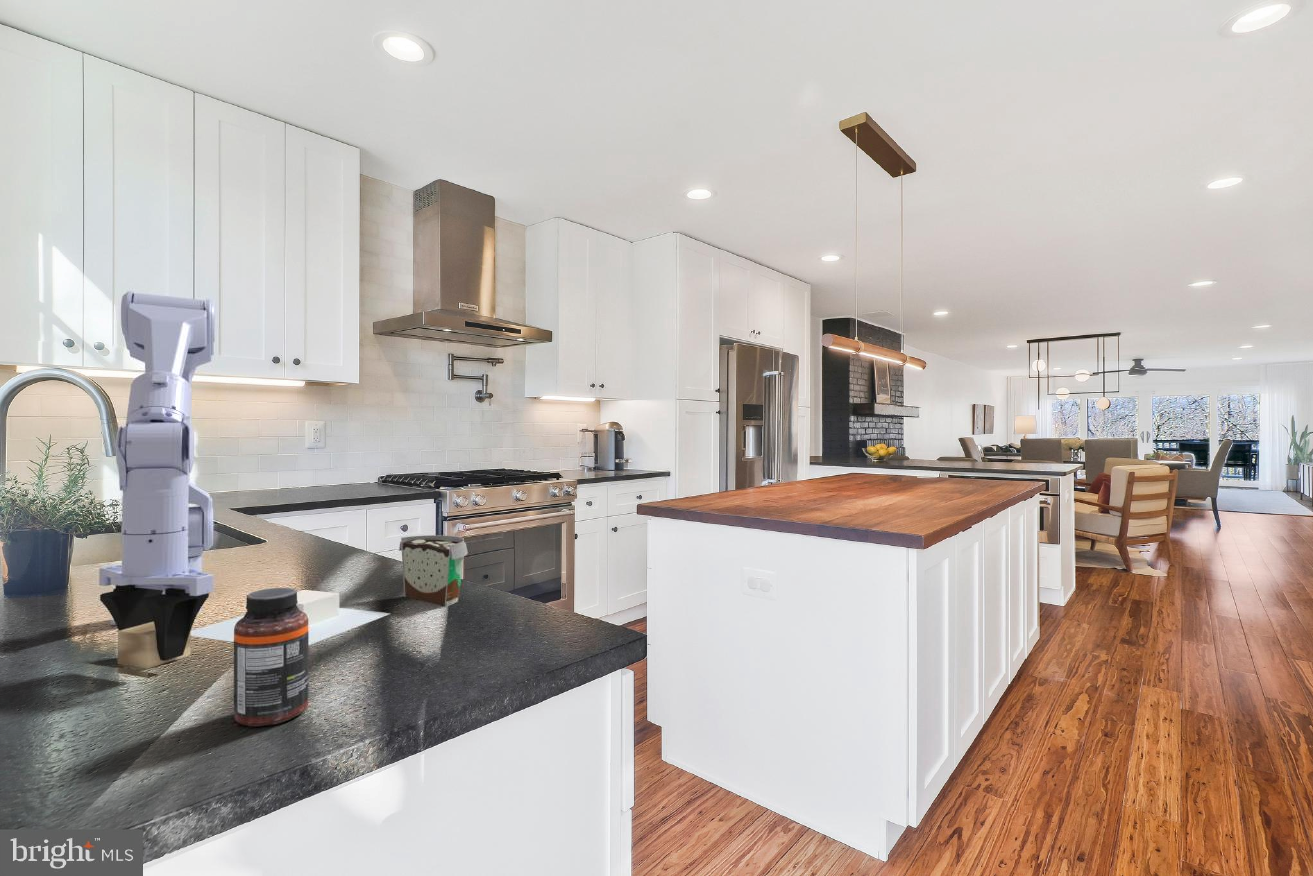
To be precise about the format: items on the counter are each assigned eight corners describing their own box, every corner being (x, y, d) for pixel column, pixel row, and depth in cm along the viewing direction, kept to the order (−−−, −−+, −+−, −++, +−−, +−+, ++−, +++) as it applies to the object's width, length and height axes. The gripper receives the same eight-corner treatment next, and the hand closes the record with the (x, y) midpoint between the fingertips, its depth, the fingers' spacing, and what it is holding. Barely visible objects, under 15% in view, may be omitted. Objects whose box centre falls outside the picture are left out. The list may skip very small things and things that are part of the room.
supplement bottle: (255, 702, 61) (256, 584, 61) (319, 700, 62) (321, 584, 62) (218, 730, 55) (219, 600, 55) (289, 728, 56) (290, 599, 56)
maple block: (117, 672, 68) (118, 631, 68) (161, 659, 73) (161, 619, 73) (148, 678, 67) (148, 635, 67) (190, 663, 71) (190, 623, 71)
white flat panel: (178, 642, 78) (178, 634, 78) (288, 609, 94) (288, 602, 94) (294, 659, 73) (294, 650, 73) (390, 620, 88) (390, 613, 88)
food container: (484, 605, 97) (485, 539, 97) (452, 614, 92) (452, 545, 92) (431, 593, 104) (432, 532, 103) (398, 602, 98) (399, 537, 98)
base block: (266, 623, 83) (266, 600, 83) (304, 611, 89) (304, 589, 89) (303, 627, 81) (303, 604, 81) (339, 615, 87) (339, 593, 87)
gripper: (67, 532, 68) (66, 659, 68) (167, 540, 64) (165, 675, 64) (138, 524, 75) (137, 639, 75) (232, 530, 71) (231, 653, 71)
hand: (154, 655), depth 70 cm, fingers closed on maple block, 4 cm apart
